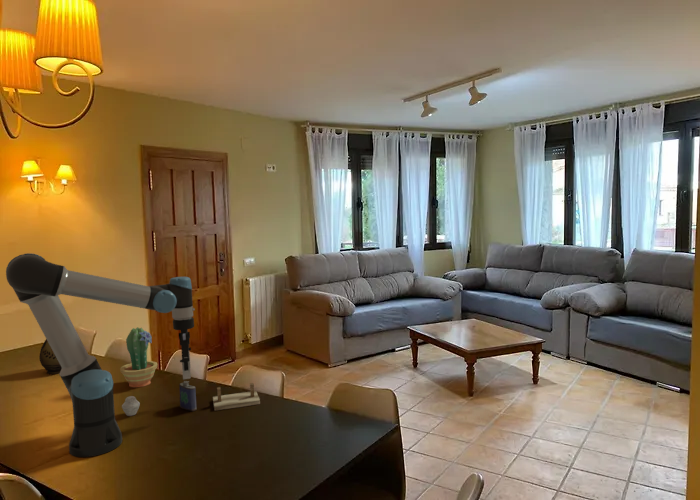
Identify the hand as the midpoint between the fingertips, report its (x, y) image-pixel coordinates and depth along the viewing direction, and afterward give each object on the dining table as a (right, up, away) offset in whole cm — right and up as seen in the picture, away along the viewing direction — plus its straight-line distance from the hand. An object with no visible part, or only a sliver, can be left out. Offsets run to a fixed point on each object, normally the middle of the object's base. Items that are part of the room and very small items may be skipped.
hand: (186, 373), depth 187 cm
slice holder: (+17, -13, +5) cm, 22 cm away
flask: (0, -14, +1) cm, 14 cm away
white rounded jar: (-20, -15, -4) cm, 25 cm away
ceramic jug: (-80, -12, +53) cm, 96 cm away
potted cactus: (-31, -13, +31) cm, 45 cm away
